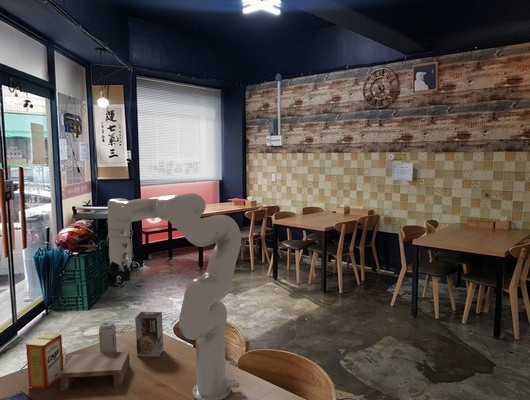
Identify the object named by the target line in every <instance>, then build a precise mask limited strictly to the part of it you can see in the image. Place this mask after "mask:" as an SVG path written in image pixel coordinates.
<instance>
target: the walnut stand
mask: <svg viewBox="0 0 530 400" xmlns="http://www.w3.org/2000/svg"><path fill="white" fill-rule="evenodd" d="M130 363H131V362H130V351H117V352H110V353H100V352H96V353H95V352H94V353H76V354H73V355H72V356H71V358H69V360H68V361H67V363H66V364H65V366H63V370H62V371H61V373H60V379H59V380H60V391H67V390H68V391H69V389H70V388H71V386H72V385H73V383H74V382H75V380H76V378H80V377H95V376H96V377H99V376H100V377H101V376H113V386H114V388H119V387H123V383H124V381H125V379H126V377H127V374H128V371H129V369H130V368H131V366H130V365H131V364H130Z"/></svg>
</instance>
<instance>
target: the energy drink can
mask: <svg viewBox="0 0 530 400" xmlns="http://www.w3.org/2000/svg"><path fill="white" fill-rule="evenodd" d="M116 329H117V328H116V325H115V323H114V321H111V320H110V321H105V322H101V323H100V326H99V328H98V340H99V353H110V352H118V350H117V331H116Z"/></svg>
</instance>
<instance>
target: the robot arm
mask: <svg viewBox="0 0 530 400" xmlns="http://www.w3.org/2000/svg"><path fill="white" fill-rule="evenodd" d="M205 211H206V201H205V199H204V198H203V197H202V196H201V195H199V194H197V193H181V194H180V193H179V194H167V195H160V196H158V197H157V196H156V197H147V198H145V197H144V198H137V199H132V200H128V199H126V198H120V197H119V198H111V199H108V201H107V232H108V233H107V234H108V235H107V237H108V238H109V240H108V241H109V244H108V259H109V275H110V276H117V275H119V274H120V281H121V282H122V283H124V282H129V281H130V280H131V267H132V265H131V264H132V263H133V261H132V260H133V257H132V244H131V239H130V236H131V232H130V231H131V229H130V228H131V227H130V223H132V222H139V221H141V220H148V219H155V218H156V219H158V218H159V219H160V220H162V221H165V222H170V224H171V225H172V226H173V227H174V229H176V230H177V231H178V232H179V233H180V234H181V235H182V236H183V237H184V238H185V239H186V240H187V241H188V242H190V243H191V244H192V245H194V246H196V247H199V248H200V247H207V246H210V245H213V244H215V246H214V248H213V250H212V252H211V253H210V256H209V259H208V265H207V267H206V271H204V272H205V273H202V275H199V276H197V277H195V278H193V279H191V281H190V282H189V283H188V285H187V286H186V289H185V291H184V295H183V300H182V304H181V308H180V312H179V319H178V326H179V332H180V333H181V335H182V336H183V337H184V338H186V339H188V340H191V341H192V340H193V341H195V359H196V360H195V361H196V363H195V364H196V366H195V367H196V368H195V369H196V370H195V371H196V384H195V385H194V386H193V388H192V391H191V393H192V397H193V398H194V399H196V400H224V399H226V398H227V397H228V396H229V395H230V394H231V388H238V389H239V388H240V381H239V380H237V381H236V378H228V377H227V374H226V339H225V338H226V327H227V323H228V322H227V320H228V311H227V307H226V304H224V303H223V302H222V300H223V299H224V298H226V297H227V296H228V294H229V293H230V289H231V286H232V281H233V277H234V272H235V268H236V264H237V260H238V256H239V254H240V250H241V247H242V246H241V245H242V233H241V230H240V227H239V225H238V223H237V222H236V221H235V220H234V219H233V218H232V217H231V216H229V215H226V214H215V215H210V216H207V217H202V218H201V216H202V215H203V214H204V213H205ZM120 269H121V270H120Z"/></svg>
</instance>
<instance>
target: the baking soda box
mask: <svg viewBox="0 0 530 400" xmlns="http://www.w3.org/2000/svg"><path fill="white" fill-rule="evenodd" d="M62 339H63V338H62V334H60V333H47V332H46V333H45V332H44V333H43V334H40V336H38V337H36V338H34V339H33V340H31V341H29V342H27V343H26V344H25V348H26V362H27V365H26V366H27V375H28V376H27V377H28V378H27V379H28V388H29V387H32V388H31V389H34V388H38V389H37V390H44V389H45V390H48V389H49V388H50V387H51V386H52V385H54V384H56V383H57V382H58V381H59V380H60V373H61V371H62V370H63V368H64V357H63V356H64V354H63V345H62V344H63V342H62V341H63V340H62Z"/></svg>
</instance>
